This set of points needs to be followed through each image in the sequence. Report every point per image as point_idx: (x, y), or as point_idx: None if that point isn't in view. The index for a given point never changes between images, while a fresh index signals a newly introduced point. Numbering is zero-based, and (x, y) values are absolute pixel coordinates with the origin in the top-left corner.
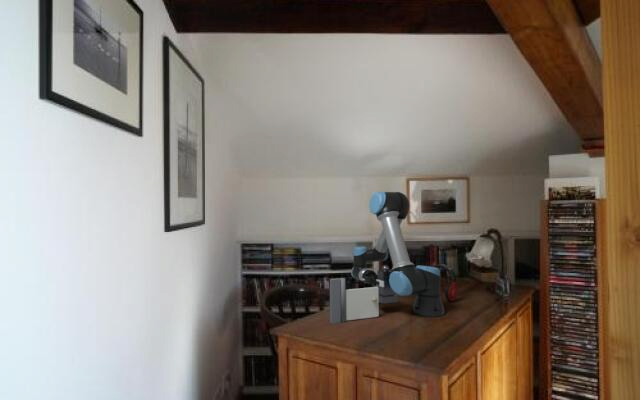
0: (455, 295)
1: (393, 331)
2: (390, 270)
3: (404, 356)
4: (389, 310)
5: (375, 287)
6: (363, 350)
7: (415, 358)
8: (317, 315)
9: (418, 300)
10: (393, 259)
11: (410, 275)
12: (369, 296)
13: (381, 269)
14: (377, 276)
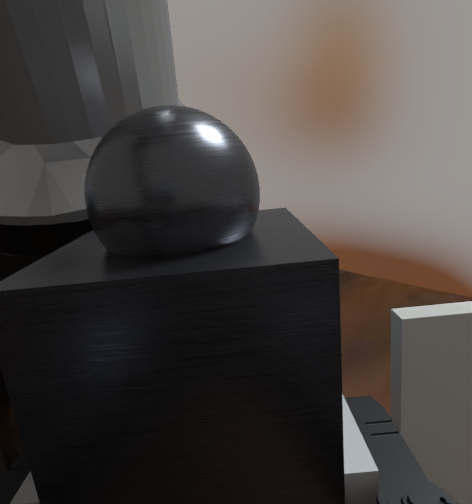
0: None
1: (348, 360)
2: (59, 248)
3: (363, 281)
4: None
5: (423, 308)
6: (465, 296)
7: (343, 277)
8: None
9: (8, 461)
10: (170, 31)
11: None
12: None
13: (254, 204)
14: (341, 415)
